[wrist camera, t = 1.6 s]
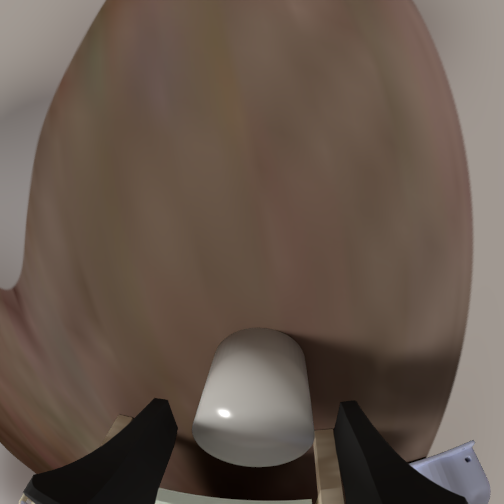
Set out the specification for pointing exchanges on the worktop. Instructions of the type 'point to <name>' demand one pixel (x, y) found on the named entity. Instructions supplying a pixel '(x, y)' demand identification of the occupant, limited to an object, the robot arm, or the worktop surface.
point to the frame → (325, 462)
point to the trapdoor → (211, 499)
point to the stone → (256, 401)
